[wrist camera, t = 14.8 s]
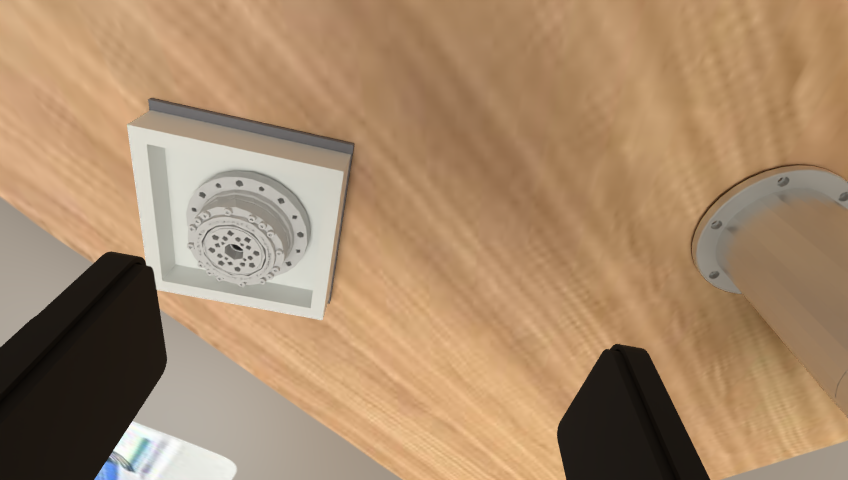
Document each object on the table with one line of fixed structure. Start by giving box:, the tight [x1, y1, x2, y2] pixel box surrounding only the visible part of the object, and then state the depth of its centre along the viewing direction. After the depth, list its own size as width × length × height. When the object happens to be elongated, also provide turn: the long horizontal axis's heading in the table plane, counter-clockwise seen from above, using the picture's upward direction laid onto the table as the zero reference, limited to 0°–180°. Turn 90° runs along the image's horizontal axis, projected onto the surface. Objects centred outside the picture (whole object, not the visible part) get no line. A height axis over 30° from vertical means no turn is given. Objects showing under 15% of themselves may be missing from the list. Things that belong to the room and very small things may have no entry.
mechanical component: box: [186, 171, 310, 287], centre depth 37 cm, size 10×4×10 cm
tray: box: [127, 110, 351, 320], centre depth 39 cm, size 15×15×3 cm
